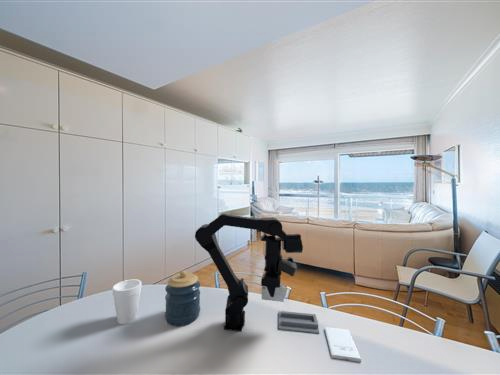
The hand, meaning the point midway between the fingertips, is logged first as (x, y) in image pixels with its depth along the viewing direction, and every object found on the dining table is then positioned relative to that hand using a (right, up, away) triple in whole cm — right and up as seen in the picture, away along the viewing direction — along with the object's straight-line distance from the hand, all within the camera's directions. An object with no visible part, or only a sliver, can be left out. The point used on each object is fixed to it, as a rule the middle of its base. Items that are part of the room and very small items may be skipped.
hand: (272, 294), depth 77 cm
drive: (0, -2, 0) cm, 2 cm away
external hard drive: (+21, -12, -9) cm, 26 cm away
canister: (-34, -11, +5) cm, 36 cm away
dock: (+10, -11, +1) cm, 15 cm away
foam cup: (-55, -11, +3) cm, 56 cm away
